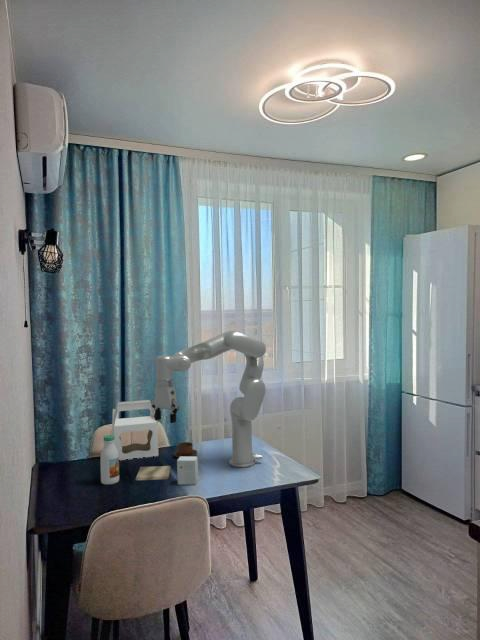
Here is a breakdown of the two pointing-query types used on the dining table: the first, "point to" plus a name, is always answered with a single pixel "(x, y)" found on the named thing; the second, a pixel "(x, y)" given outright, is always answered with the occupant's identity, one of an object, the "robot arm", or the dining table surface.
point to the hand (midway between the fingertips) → (165, 421)
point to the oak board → (153, 473)
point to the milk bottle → (109, 461)
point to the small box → (187, 470)
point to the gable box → (135, 425)
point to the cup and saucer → (185, 450)
